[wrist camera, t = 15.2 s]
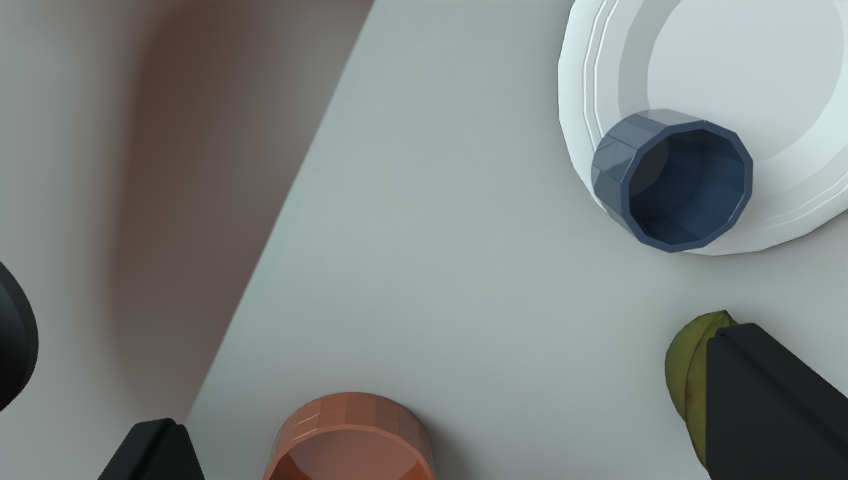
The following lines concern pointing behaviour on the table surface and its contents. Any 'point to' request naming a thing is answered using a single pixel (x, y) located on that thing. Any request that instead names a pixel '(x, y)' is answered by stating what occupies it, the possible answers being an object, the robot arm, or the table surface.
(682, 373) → the fruit
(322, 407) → the big bowl
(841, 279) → the table surface
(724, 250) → the plate
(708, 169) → the small bowl
